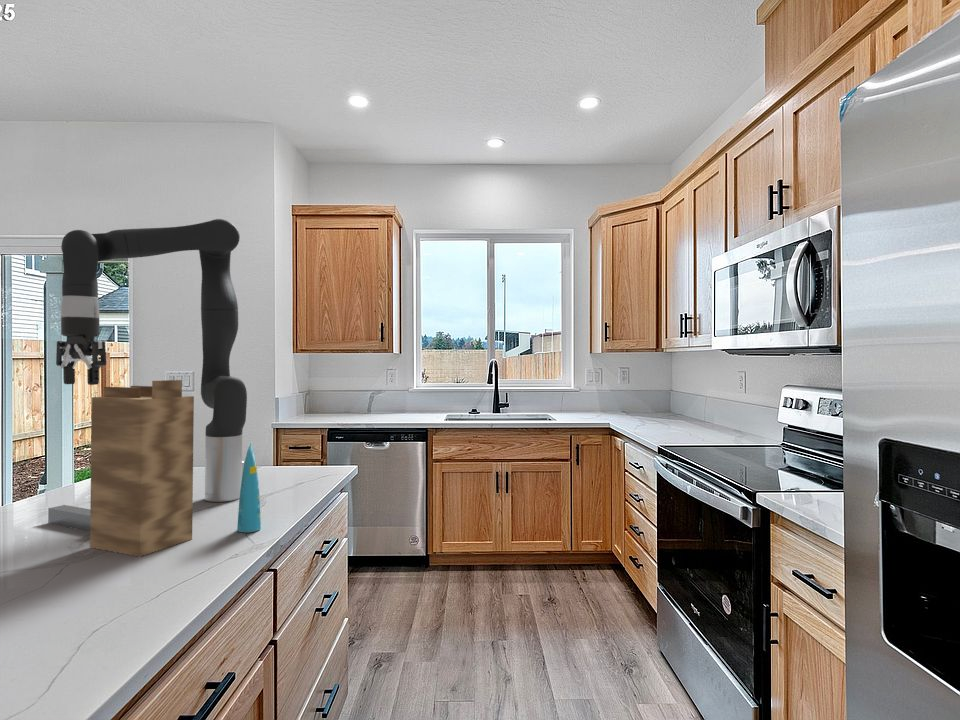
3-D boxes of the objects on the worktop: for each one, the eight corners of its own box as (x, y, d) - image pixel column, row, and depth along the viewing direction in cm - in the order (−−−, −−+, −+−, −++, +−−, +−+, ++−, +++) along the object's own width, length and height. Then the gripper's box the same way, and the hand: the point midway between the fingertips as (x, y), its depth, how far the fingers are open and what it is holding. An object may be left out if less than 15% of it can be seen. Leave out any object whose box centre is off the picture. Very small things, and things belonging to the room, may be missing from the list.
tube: (262, 533, 126) (263, 445, 126) (238, 535, 124) (239, 446, 124) (259, 524, 133) (259, 440, 133) (236, 526, 131) (237, 441, 131)
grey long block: (68, 518, 137) (69, 499, 137) (128, 530, 128) (128, 509, 128) (43, 524, 131) (43, 504, 132) (103, 536, 123) (103, 515, 123)
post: (144, 531, 127) (146, 378, 127) (192, 539, 122) (193, 379, 122) (89, 547, 116) (91, 379, 116) (139, 556, 110) (141, 381, 111)
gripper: (116, 316, 138) (116, 384, 138) (76, 317, 144) (77, 383, 144) (84, 314, 131) (85, 385, 132) (44, 316, 137) (44, 384, 137)
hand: (81, 384), depth 138 cm, fingers open, 8 cm apart
